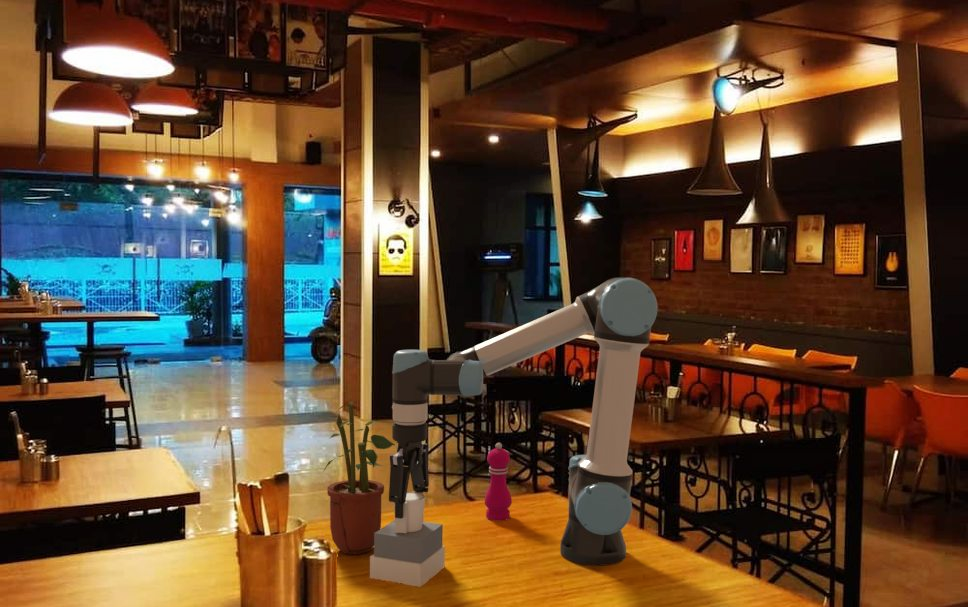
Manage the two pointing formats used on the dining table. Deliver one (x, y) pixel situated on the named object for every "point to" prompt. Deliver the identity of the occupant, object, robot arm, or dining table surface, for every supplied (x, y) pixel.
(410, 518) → the white cup
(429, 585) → the dining table surface
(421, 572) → the tower base
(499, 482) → the pepper mill
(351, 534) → the potted plant
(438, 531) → the tower top
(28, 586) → the dining table surface
